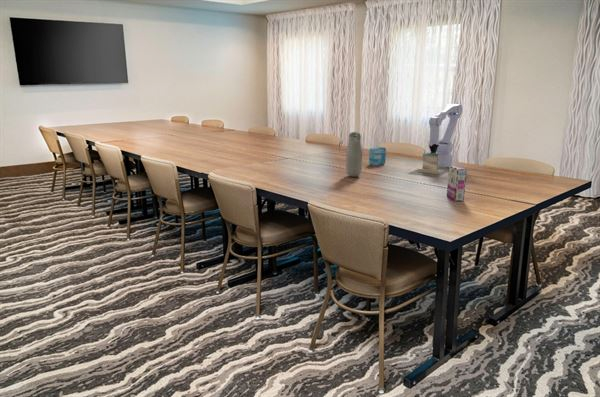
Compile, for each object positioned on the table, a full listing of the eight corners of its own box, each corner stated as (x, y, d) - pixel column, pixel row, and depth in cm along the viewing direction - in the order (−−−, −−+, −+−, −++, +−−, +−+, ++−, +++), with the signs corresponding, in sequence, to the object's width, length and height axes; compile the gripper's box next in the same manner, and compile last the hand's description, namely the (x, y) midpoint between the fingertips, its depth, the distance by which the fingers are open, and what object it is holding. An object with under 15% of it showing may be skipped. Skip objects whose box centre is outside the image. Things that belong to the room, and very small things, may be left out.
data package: (373, 165, 327) (373, 148, 324) (368, 164, 330) (369, 148, 327) (385, 164, 333) (386, 147, 330) (380, 163, 337) (381, 146, 334)
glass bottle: (344, 177, 290) (344, 132, 282) (348, 174, 299) (349, 130, 292) (359, 178, 286) (360, 133, 279) (363, 175, 296) (364, 131, 288)
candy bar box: (464, 201, 233) (467, 169, 229) (454, 201, 233) (457, 169, 229) (455, 195, 244) (457, 165, 240) (446, 196, 244) (448, 165, 240)
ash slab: (424, 170, 307) (425, 152, 304) (437, 172, 302) (439, 153, 299) (422, 171, 304) (423, 153, 301) (435, 173, 299) (437, 154, 296)
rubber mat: (419, 169, 314) (419, 165, 313) (448, 172, 303) (448, 168, 302) (407, 174, 297) (407, 170, 297) (437, 178, 286) (438, 174, 286)
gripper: (432, 133, 315) (431, 153, 319) (424, 135, 304) (423, 156, 307) (442, 134, 311) (441, 154, 315) (435, 136, 300) (433, 157, 304)
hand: (433, 155), depth 311 cm, fingers closed
